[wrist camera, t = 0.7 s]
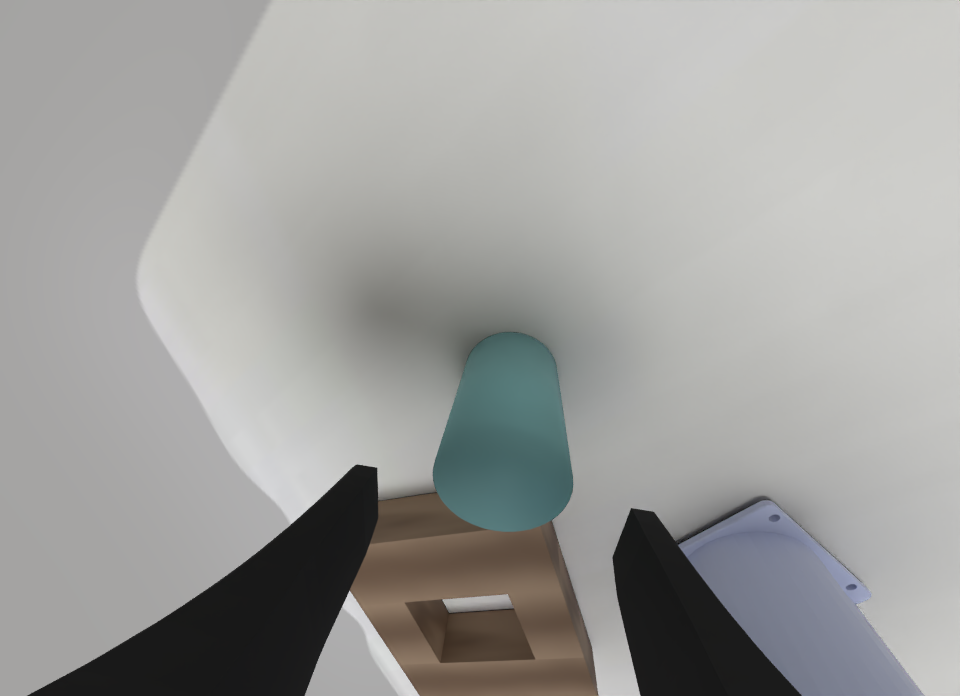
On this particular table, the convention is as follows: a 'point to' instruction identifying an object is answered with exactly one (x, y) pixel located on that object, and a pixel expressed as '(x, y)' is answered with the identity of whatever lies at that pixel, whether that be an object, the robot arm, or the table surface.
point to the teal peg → (506, 438)
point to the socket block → (473, 635)
